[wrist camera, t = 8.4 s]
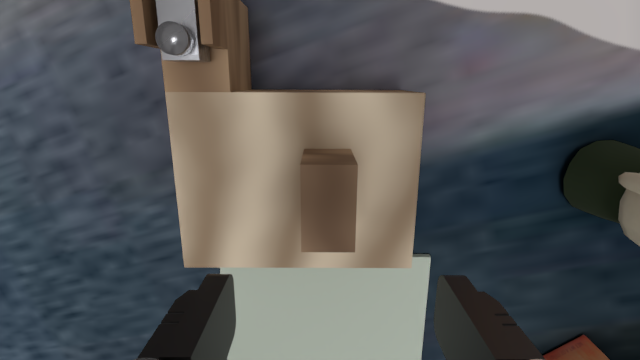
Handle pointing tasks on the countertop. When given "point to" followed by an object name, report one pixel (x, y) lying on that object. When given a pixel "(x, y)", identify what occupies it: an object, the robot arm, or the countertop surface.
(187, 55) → the sliding bolt
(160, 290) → the countertop surface
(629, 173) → the character mug
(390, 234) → the lid
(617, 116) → the countertop surface
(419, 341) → the mat
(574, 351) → the cracker box
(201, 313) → the robot arm
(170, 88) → the wooden box
